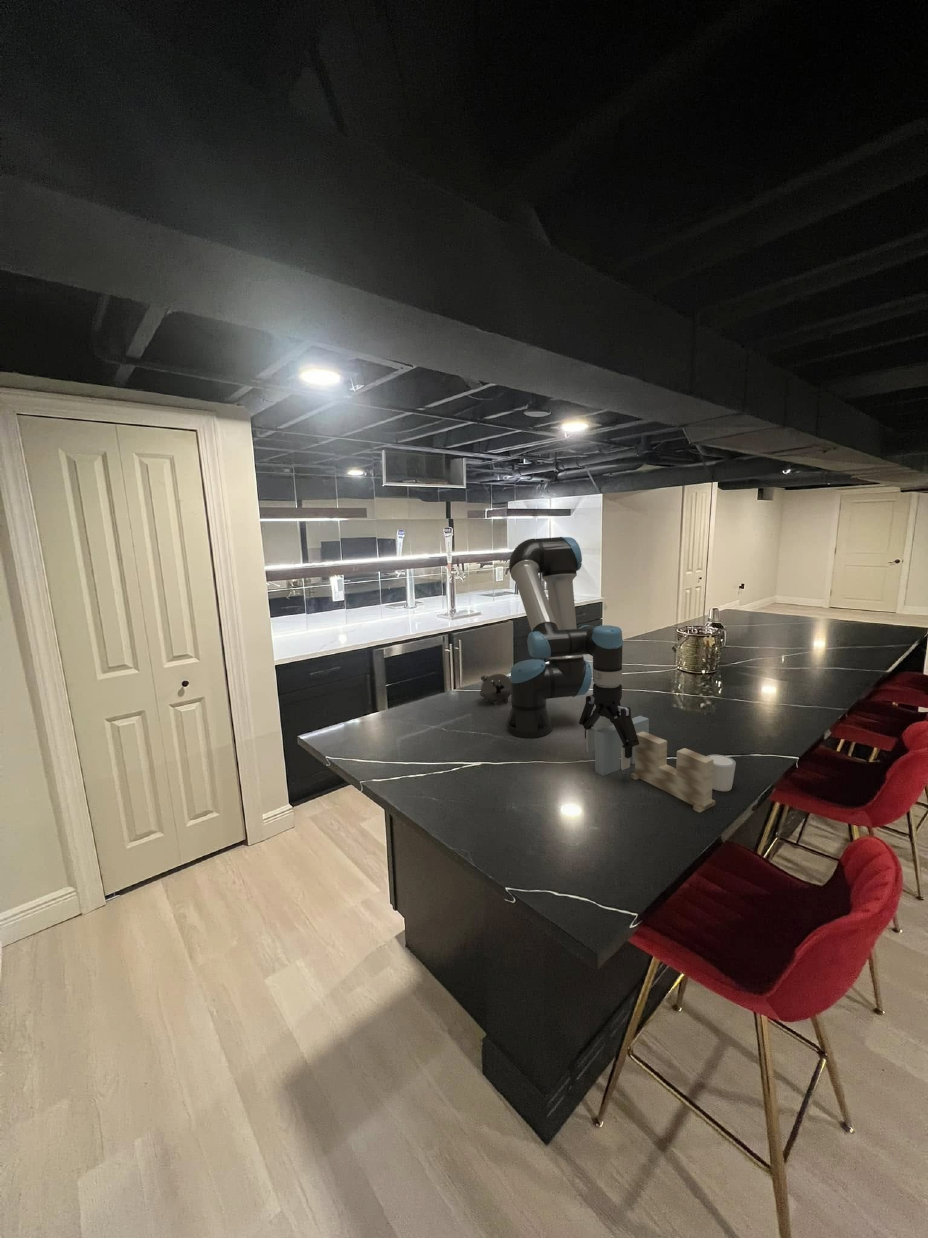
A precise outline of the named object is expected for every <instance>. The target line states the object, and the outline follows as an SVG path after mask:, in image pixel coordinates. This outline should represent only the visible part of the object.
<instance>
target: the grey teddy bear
mask: <svg viewBox="0 0 928 1238" xmlns="http://www.w3.org/2000/svg"><path fill="white" fill-rule="evenodd" d="M510 676H511V675H508V676H507V674H503V673H494V674H490V675H482V676H480V680H481V681H482V684H481V685H480V686H481V687H480V691H479V696H480V697H481V698H484V700H486V703H488V702H490V703H493V705H494V706H495V705H498V706H499V704H500V702H503V703H504V704H508V703H509V697H511V682H510ZM507 702H508V703H507Z"/></svg>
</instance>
